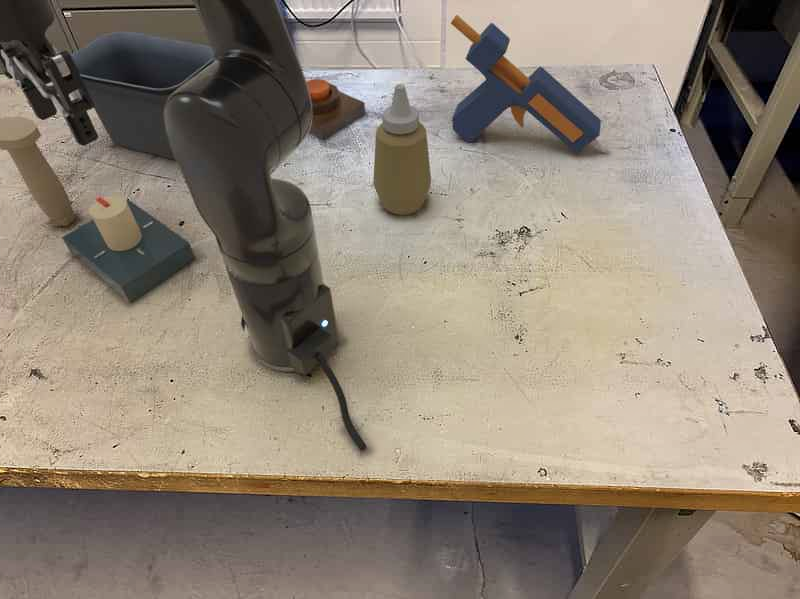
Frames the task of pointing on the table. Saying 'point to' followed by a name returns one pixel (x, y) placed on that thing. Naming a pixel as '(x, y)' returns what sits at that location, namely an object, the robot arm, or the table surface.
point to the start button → (318, 89)
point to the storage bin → (137, 84)
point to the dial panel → (132, 255)
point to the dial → (116, 223)
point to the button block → (334, 113)
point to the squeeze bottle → (401, 157)
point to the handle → (35, 169)
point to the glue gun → (519, 95)
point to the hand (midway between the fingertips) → (68, 128)
